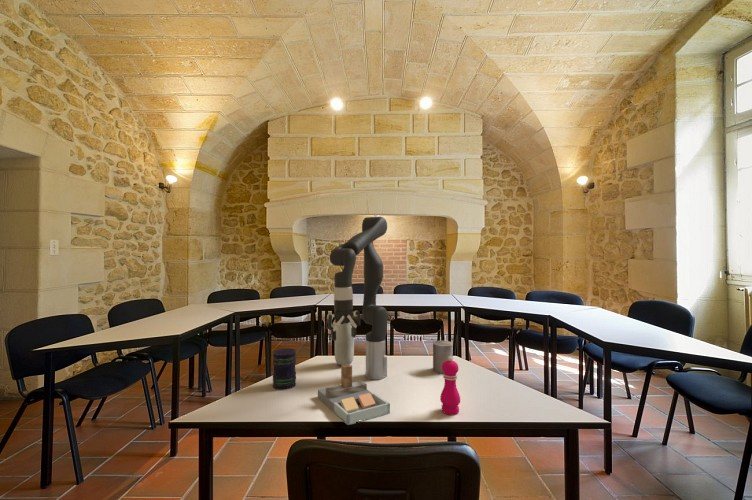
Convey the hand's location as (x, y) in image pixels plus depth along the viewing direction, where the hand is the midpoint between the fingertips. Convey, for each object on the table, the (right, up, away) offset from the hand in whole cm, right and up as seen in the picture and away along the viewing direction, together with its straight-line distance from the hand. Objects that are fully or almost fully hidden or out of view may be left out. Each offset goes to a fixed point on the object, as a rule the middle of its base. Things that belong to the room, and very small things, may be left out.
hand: (343, 338), depth 139 cm
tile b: (+3, -22, -12) cm, 25 cm away
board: (+1, -24, -2) cm, 24 cm away
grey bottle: (-4, -25, +41) cm, 48 cm away
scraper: (+1, -21, -2) cm, 21 cm away
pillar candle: (+46, -24, +33) cm, 62 cm away
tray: (+8, -24, -13) cm, 28 cm away
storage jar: (-27, -24, +13) cm, 39 cm away
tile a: (+9, -22, -8) cm, 25 cm away
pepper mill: (+40, -24, -12) cm, 48 cm away
